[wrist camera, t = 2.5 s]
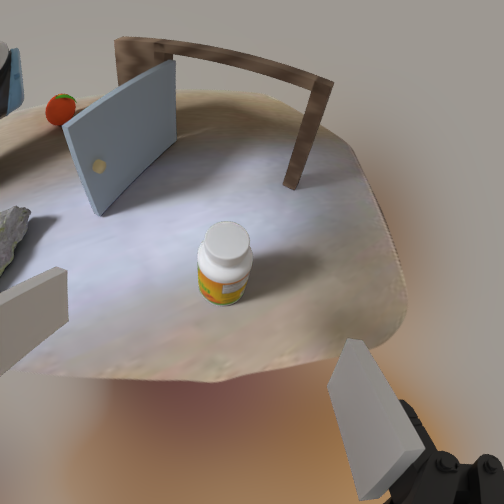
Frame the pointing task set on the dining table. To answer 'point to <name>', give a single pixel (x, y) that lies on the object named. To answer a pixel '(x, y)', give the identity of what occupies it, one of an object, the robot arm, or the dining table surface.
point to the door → (123, 134)
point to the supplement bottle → (224, 263)
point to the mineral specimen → (11, 232)
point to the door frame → (160, 50)
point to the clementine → (60, 109)
